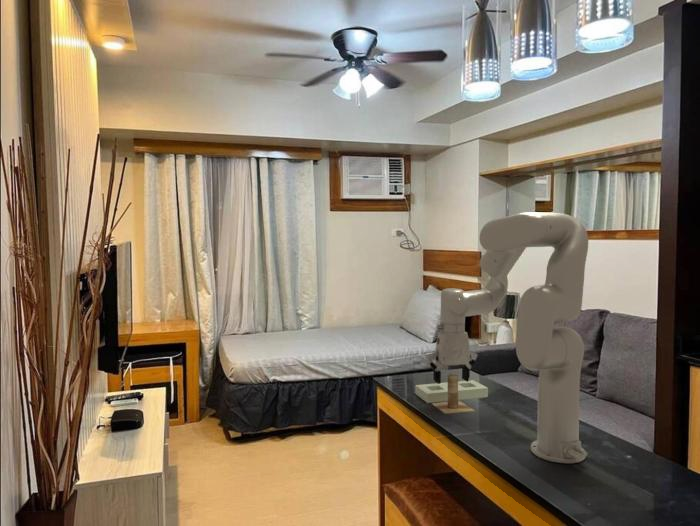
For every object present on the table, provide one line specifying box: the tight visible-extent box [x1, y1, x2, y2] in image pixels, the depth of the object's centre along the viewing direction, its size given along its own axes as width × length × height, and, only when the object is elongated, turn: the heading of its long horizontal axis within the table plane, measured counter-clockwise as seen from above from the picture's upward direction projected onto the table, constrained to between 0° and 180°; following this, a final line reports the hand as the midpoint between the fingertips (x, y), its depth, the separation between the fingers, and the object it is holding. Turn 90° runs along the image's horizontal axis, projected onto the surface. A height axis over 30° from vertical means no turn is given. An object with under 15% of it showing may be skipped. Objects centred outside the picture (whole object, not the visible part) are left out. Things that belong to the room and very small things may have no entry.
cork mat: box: [431, 400, 476, 415], centre depth 158 cm, size 10×10×1 cm
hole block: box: [414, 379, 489, 404], centre depth 170 cm, size 10×22×4 cm, turn 105°
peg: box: [447, 374, 459, 409], centre depth 157 cm, size 3×3×10 cm
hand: (451, 381), depth 158 cm, fingers open, 9 cm apart
